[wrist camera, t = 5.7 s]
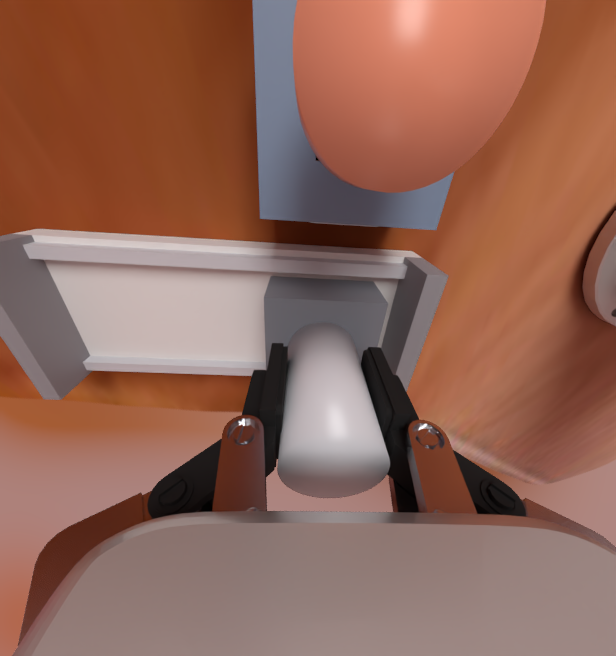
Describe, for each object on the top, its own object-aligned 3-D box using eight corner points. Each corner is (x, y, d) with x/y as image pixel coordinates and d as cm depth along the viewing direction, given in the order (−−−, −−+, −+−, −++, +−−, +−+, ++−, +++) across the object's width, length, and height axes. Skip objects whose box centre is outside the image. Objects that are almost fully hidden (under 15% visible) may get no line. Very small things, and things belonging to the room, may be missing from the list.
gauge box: (436, 35, 11) (525, -59, 6) (395, 217, 14) (434, 235, 10) (271, 18, 10) (249, -94, 6) (273, 209, 14) (260, 224, 10)
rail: (412, 251, 15) (448, 275, 12) (381, 364, 20) (399, 409, 16) (37, 228, 14) (-60, 247, 11) (96, 354, 19) (43, 399, 15)
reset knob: (440, 29, 8) (612, -153, 3) (404, 189, 10) (480, 199, 6) (300, 15, 8) (298, -198, 3) (295, 182, 10) (289, 185, 6)
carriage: (373, 281, 15) (459, 408, 7) (356, 361, 18) (401, 514, 10) (270, 275, 14) (230, 401, 6) (272, 358, 17) (245, 512, 9)
